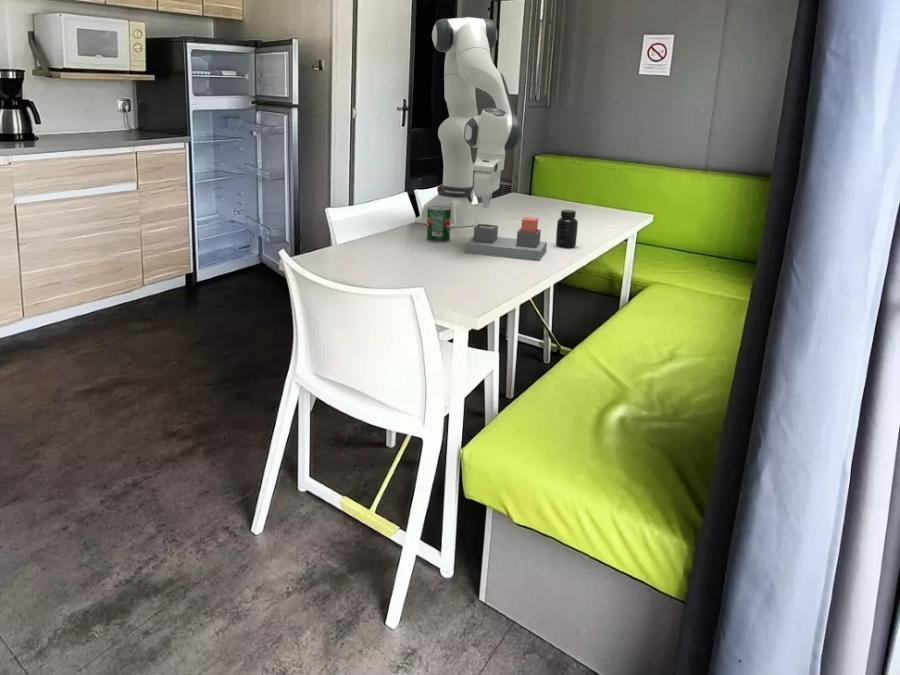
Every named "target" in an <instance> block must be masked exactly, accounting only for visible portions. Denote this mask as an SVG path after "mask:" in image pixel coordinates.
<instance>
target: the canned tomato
mask: <svg viewBox="0 0 900 675" xmlns="http://www.w3.org/2000/svg"><path fill="white" fill-rule="evenodd" d="M427 213H428V214H427V224H426V240H427V241H428V242H432V243H447V242H450V240H451V239H450V238H451V237H450V236H451V235H450V234H451V228H450V219H451V218H450V217H451V208H450V207H447V206H429V207H428V212H427Z"/></svg>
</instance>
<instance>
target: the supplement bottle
mask: <svg viewBox="0 0 900 675" xmlns="http://www.w3.org/2000/svg"><path fill="white" fill-rule="evenodd" d="M576 214H577V213H576V210H574V209H561V211H560V217H559V218H558V219H557V223H556V235H555V245H556V247H558V248H561V247H562V248H563V249H573V248H576V245H577V235H578V225H579V224H578V223H579V222H578V220H577V218H576V217H577V216H576Z"/></svg>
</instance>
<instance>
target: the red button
mask: <svg viewBox="0 0 900 675" xmlns="http://www.w3.org/2000/svg"><path fill="white" fill-rule="evenodd" d="M538 225H539V218H537V217H523V218H522V219H521V227H520V228H521V232H531V233H536V232H537V229H538Z"/></svg>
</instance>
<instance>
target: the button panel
mask: <svg viewBox="0 0 900 675" xmlns="http://www.w3.org/2000/svg"><path fill="white" fill-rule="evenodd" d="M480 226H492V227H494V228H493V229H490V228H480ZM498 232H499V225H495V224H485V223H478V224H476V225H475V226H473V236H472V237H471V238H470V239H468V240H467V241H466V242H465V243H464V254H474V255H482V256H493V257H501V258H511V259H520V260H531V261H541V259H542V257H543V256H544V254H546V252H547V249H548V248H547V247H548V242H547V241H542V240H541V235H542V234H541V233H542V230H541V229H538V228H537V232H536V233H531V232H521V227H520V228H519V229H518V230H517V233H516V238H511V237H501V236H498Z"/></svg>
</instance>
